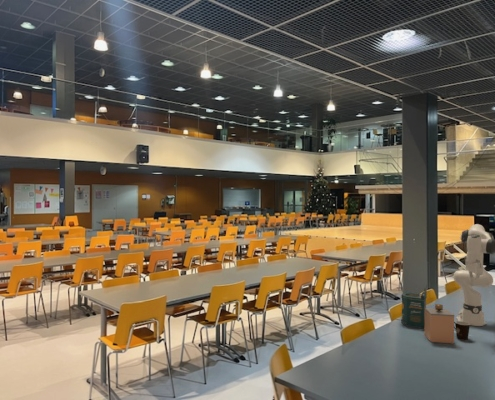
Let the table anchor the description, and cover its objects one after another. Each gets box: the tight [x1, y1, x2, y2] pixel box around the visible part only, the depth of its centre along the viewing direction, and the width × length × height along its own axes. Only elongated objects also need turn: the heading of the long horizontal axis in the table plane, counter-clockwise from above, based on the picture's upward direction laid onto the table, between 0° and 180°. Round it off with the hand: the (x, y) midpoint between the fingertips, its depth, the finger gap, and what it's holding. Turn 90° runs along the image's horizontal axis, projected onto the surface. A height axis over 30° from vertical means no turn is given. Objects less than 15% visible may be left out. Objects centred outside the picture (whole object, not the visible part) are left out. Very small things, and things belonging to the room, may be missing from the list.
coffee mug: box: [454, 320, 471, 341], centre depth 254 cm, size 12×9×10 cm
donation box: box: [400, 284, 428, 329], centre depth 284 cm, size 16×16×28 cm
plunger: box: [434, 303, 444, 312], centre depth 251 cm, size 10×10×17 cm
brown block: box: [423, 307, 455, 344], centre depth 251 cm, size 14×14×18 cm
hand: (474, 279), depth 258 cm, fingers open, 8 cm apart
